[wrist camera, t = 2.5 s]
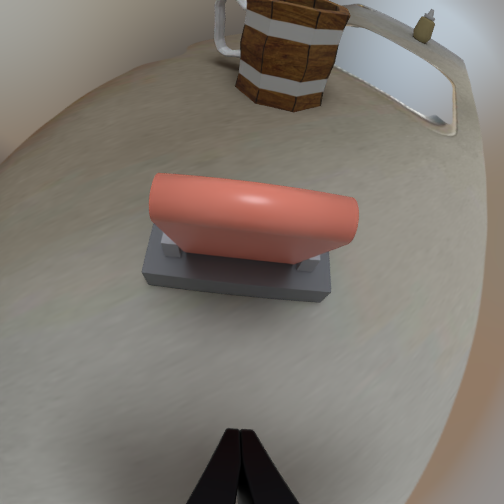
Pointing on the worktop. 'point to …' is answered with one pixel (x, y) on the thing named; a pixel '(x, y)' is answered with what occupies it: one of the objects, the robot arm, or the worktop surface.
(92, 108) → the worktop surface
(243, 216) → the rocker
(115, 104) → the worktop surface
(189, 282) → the grey holder stand
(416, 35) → the squeeze bottle
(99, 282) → the worktop surface
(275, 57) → the mug
